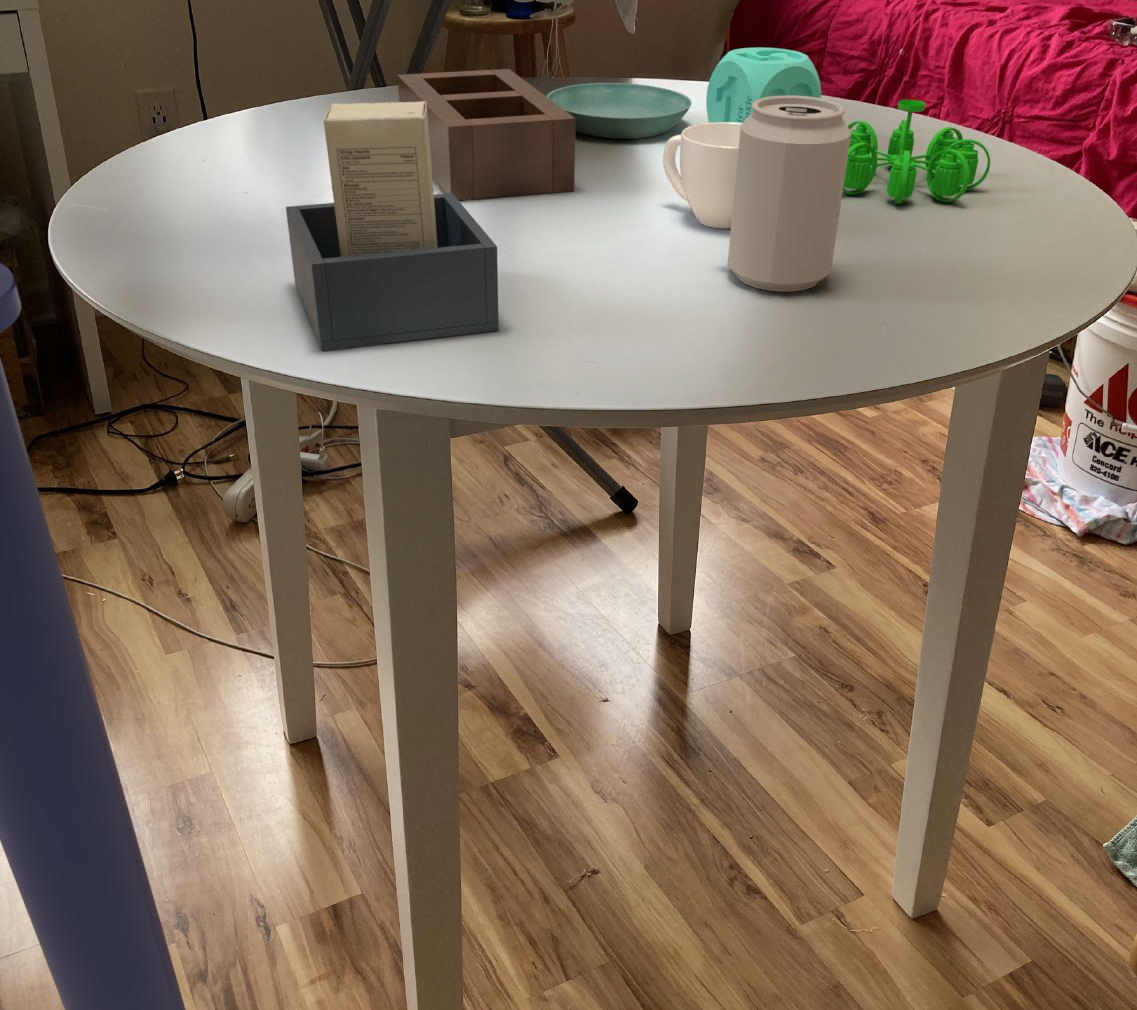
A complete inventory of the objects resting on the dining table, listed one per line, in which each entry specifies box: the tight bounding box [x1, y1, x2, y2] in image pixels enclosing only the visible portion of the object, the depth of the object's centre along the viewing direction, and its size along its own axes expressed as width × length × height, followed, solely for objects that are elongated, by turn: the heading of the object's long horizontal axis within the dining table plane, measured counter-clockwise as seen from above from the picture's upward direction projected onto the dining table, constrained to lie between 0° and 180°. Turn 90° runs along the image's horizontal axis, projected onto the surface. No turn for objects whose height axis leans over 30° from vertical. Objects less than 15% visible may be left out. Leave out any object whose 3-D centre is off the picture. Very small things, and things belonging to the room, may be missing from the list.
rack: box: [397, 68, 576, 201], centre depth 107 cm, size 11×20×6 cm, turn 19°
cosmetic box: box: [323, 101, 438, 257], centre depth 76 cm, size 6×4×12 cm
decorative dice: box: [705, 47, 822, 123], centre depth 114 cm, size 8×8×8 cm
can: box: [727, 95, 852, 293], centre depth 83 cm, size 8×8×12 cm
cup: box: [662, 122, 742, 230], centre depth 95 cm, size 8×10×7 cm
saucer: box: [546, 82, 693, 140], centre depth 120 cm, size 15×15×3 cm
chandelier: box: [843, 99, 991, 205], centre depth 103 cm, size 15×15×7 cm
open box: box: [285, 193, 500, 351], centre depth 79 cm, size 12×12×6 cm
